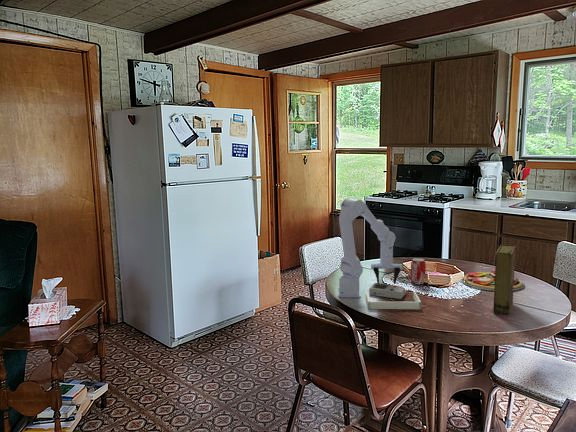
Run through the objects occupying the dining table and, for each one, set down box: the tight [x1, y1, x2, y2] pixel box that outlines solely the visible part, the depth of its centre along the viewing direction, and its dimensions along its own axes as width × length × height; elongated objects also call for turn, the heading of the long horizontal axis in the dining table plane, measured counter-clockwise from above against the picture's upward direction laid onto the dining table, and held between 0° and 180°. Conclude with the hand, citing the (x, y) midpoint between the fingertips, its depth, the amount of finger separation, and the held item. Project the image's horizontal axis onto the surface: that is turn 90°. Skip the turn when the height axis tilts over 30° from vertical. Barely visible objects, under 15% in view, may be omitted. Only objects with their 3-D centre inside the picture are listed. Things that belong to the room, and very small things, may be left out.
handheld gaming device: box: [368, 282, 406, 300], centre depth 201 cm, size 9×15×4 cm, turn 61°
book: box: [492, 243, 517, 316], centre depth 178 cm, size 16×6×25 cm, turn 148°
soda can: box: [410, 257, 427, 286], centre depth 214 cm, size 7×7×12 cm
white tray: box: [365, 290, 422, 310], centre depth 189 cm, size 22×13×3 cm, turn 84°
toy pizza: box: [460, 270, 525, 292], centre depth 212 cm, size 28×28×4 cm
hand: (386, 283), depth 210 cm, fingers open, 7 cm apart
